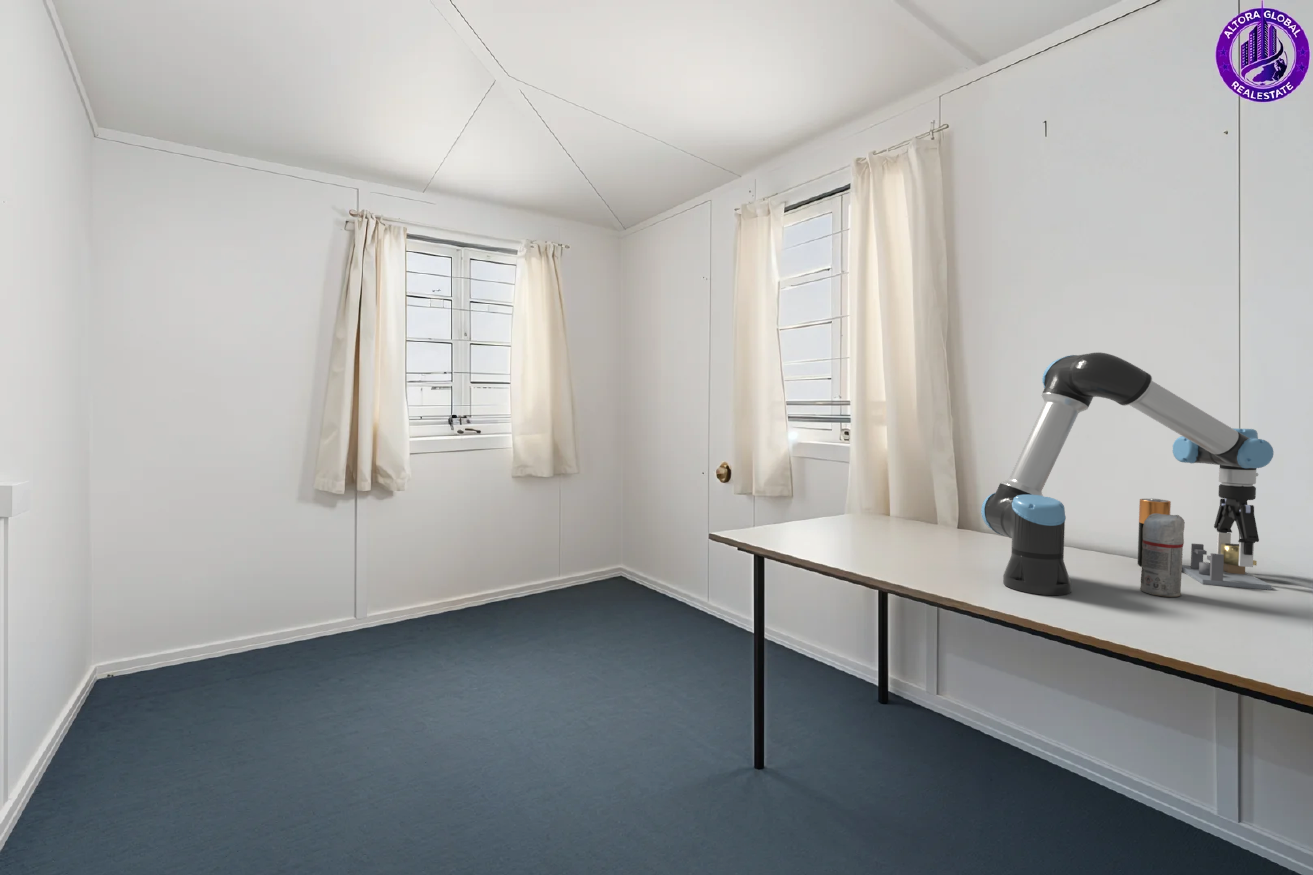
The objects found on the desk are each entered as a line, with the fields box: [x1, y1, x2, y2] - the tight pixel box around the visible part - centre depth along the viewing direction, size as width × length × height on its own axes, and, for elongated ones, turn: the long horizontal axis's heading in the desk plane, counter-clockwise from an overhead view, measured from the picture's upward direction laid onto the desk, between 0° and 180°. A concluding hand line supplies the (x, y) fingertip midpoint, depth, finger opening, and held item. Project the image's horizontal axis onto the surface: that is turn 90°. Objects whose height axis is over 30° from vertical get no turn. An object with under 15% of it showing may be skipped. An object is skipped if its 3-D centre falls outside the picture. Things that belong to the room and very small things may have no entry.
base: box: [1182, 543, 1272, 591], centre depth 171 cm, size 14×17×8 cm
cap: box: [1221, 543, 1258, 567], centre depth 174 cm, size 9×6×5 cm, turn 67°
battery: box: [1137, 498, 1172, 567], centre depth 184 cm, size 7×7×20 cm
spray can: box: [1139, 513, 1185, 598], centre depth 158 cm, size 8×8×20 cm
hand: (1234, 560), depth 174 cm, fingers open, 13 cm apart
